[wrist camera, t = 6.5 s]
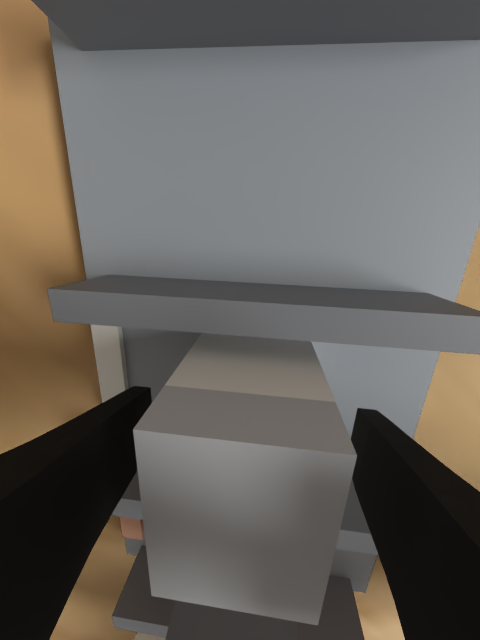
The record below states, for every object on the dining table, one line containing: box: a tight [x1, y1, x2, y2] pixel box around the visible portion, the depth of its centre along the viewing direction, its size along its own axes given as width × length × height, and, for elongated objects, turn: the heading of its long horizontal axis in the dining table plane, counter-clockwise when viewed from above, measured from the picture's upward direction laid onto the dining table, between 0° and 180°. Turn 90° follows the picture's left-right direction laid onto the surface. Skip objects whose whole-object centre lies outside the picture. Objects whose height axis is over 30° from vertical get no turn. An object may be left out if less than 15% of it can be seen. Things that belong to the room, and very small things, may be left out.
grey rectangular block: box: [133, 333, 357, 625], centre depth 8 cm, size 4×5×6 cm
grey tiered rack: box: [32, 0, 480, 640], centre depth 10 cm, size 14×25×4 cm, turn 178°
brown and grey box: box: [165, 600, 298, 640], centre depth 11 cm, size 4×5×6 cm
